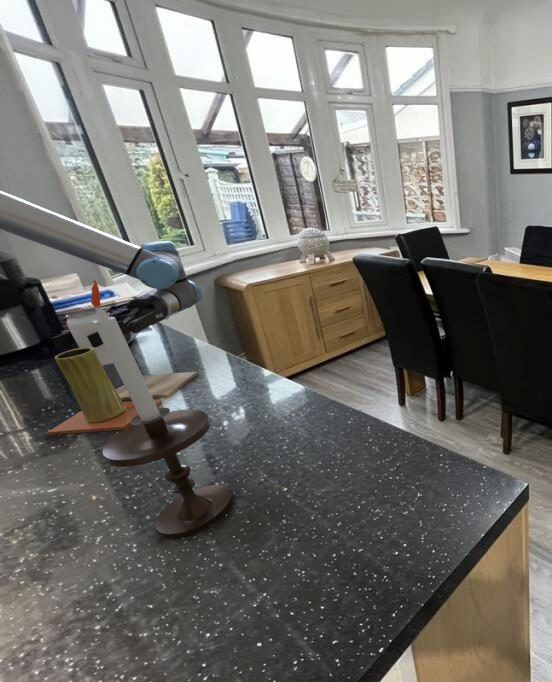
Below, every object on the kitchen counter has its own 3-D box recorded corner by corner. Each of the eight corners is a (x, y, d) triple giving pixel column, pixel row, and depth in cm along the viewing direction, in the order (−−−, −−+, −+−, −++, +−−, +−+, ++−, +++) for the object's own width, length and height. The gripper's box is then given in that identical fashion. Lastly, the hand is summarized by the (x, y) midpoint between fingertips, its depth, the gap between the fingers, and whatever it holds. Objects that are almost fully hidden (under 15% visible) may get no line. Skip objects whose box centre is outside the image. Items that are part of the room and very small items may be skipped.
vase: (80, 426, 78) (43, 362, 72) (95, 410, 83) (62, 349, 77) (119, 418, 80) (86, 355, 74) (131, 403, 85) (101, 344, 79)
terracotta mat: (49, 435, 77) (47, 432, 76) (94, 407, 86) (92, 404, 86) (125, 429, 78) (123, 426, 77) (161, 402, 87) (160, 399, 87)
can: (111, 354, 95) (87, 307, 90) (134, 355, 94) (111, 308, 89) (81, 367, 89) (54, 317, 84) (105, 368, 88) (79, 318, 83)
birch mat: (101, 402, 88) (100, 399, 87) (139, 378, 98) (138, 375, 97) (168, 397, 89) (166, 394, 88) (198, 374, 99) (197, 371, 98)
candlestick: (231, 475, 65) (144, 265, 51) (247, 511, 58) (152, 279, 44) (145, 512, 58) (18, 283, 44) (152, 559, 51) (3, 303, 37)
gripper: (196, 318, 107) (129, 355, 86) (120, 323, 106) (33, 361, 85) (186, 292, 104) (114, 323, 83) (108, 296, 103) (14, 329, 82)
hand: (74, 342), depth 84 cm, fingers closed on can, 6 cm apart
